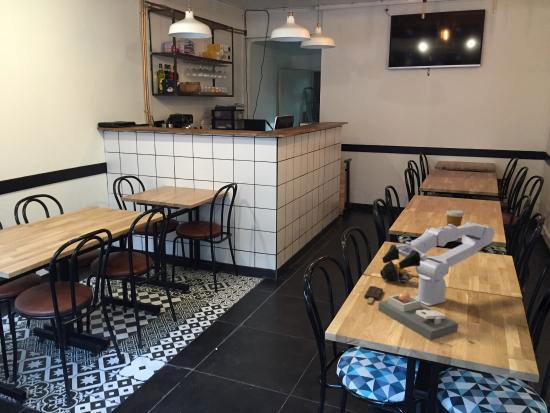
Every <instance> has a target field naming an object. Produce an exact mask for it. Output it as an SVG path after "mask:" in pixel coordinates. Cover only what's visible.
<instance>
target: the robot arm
mask: <svg viewBox="0 0 550 413" xmlns="http://www.w3.org/2000/svg"><path fill="white" fill-rule="evenodd" d="M459 237H461V243H462V244H460V245H458V246H456V247H454V248H451V249H450V250H448V251H446V252H442V253H441V254H440V255H437V256H434V255H432V256H431V255H429V256H427V254H426V253H427V252H429V251H430V250H432V249H434V248H436V247H437V246H438V247H445V246H446V245H447V243H448V242H454V241H456V240H458V239H459ZM494 237H495V229H494V228H493V227H492V226H487V225H483V224H479V223H477V222H474V221H468V222H465V224H461V226H458V227H456V226H454V225H452V224H448V226H447V225H445V226H439V227H437V228H436V227H427V228H426V230H425V231H424V233H422V234H421V235H420V236H419V237H417V238H415V239H413V240H412V241H405V243H404V244H400V245H396V244H391V245H390V246H389V248H388V251H387V252H386V254H385V255H384V256H383V257H381V258H382V263H383V264H388V263H389V262H390V261H392V262H393V261H397V260H400V255H401V256H402V257H404V258H403V259H402V260H400V262H398V267H400V269H406V268H410V267H414V269H415V271H416V274H418V276H419V278H418V286H417V287H418V288H417V295H414V296H413V297H414V298H416V299H418V300H420V304H422V305H424V306H426V307H431V306H434V305H437V304H441V303H445V302H446V301H447V300H446V299H445V296H446V295H445V294H446V286H447V284H446V280H445V279H444V278H445V276H447V275H448V274H449V271H450V268H451V267H453V266H455V265H457V264H458V263H459V264H460V262H462V261H465V260H467V259H469V258H471V257H473V256H474V255H476V254H478V252H479V251H480V250H481V249H482V248H484V247H486V246H488V245H490V244H491V243H492V241H493V239H494Z"/></svg>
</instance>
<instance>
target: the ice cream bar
mask: <svg viewBox="0 0 550 413" xmlns="http://www.w3.org/2000/svg"><path fill="white" fill-rule="evenodd" d="M383 291H384V289H383V288H382V287H378V286H375V285H374V286H373V285H369V286H368V288H367V290H366V292H365V294H364V299H366V300H367V301H366V303H367V304H368V305H371V304H373V302H374V301H377V302H380V301H379V300H380V298H381V296H382V294H383Z"/></svg>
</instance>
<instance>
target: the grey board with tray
mask: <svg viewBox="0 0 550 413" xmlns="http://www.w3.org/2000/svg"><path fill="white" fill-rule="evenodd" d="M377 309H378V311H379V312H381V313H382V314H383V315H386V316H388V317H389V318H390V319H393V320H394V321H396V322H398V323H400V324H401V325H403V326H405V327H406V328H408V329H410V330H412V331H413V332H415V333H417V334H418V335H420V336H421V337H423V338H426V339H427V340H428V341H430V342H431V341H433V340H437V339H440V338H443V337H446V336H449V335H453V334H455V333H458V328H459V323H458V322H456V321H455V320H452V319H450V318H448V317H447V316H446V317H445V319H441V317H436V318H435V319H425V318H423V317H422V316H420V315H418V314H416V310H432V309H430V308H429V307H428V306H426V305H424V304H422V303H421V302H420V300H418V299H416V298H414V296H412V295H410V301H409V303H402V302H400V301H399V293H398V294H394V295H390V296H388V297H387V300H386V299H385V300H383V301H378V307H377Z"/></svg>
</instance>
